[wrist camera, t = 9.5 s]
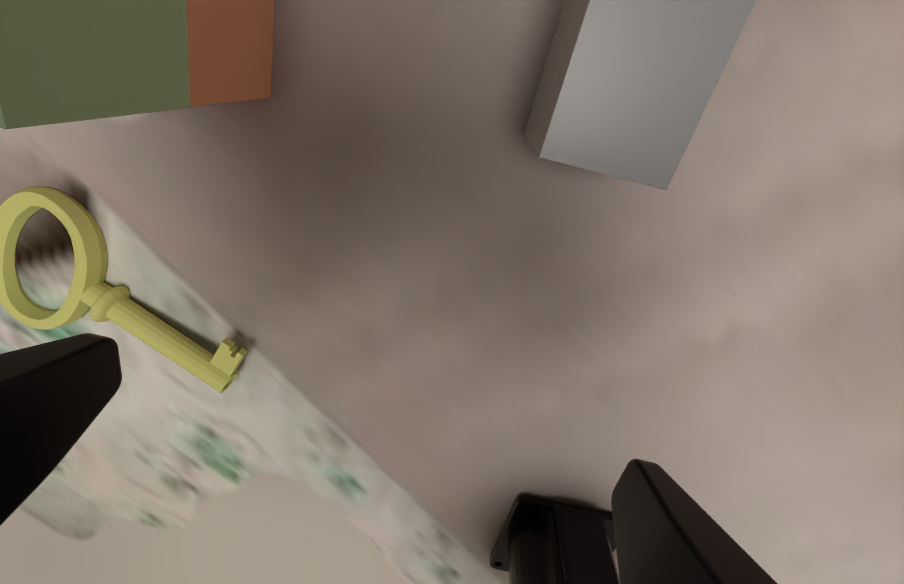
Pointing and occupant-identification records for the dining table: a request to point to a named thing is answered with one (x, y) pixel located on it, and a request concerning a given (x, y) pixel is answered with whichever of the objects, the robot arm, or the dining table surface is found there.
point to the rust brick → (229, 50)
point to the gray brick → (631, 83)
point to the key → (98, 289)
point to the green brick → (91, 59)
